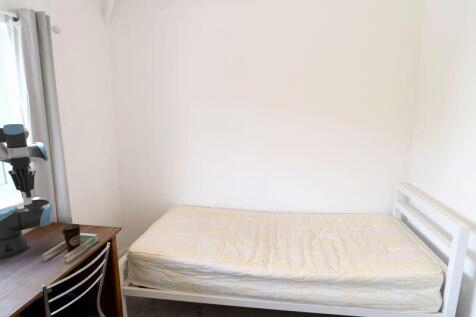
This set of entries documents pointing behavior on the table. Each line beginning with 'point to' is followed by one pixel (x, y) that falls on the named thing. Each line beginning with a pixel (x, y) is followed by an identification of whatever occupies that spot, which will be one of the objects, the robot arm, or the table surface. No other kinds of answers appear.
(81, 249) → the rail outer
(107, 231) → the table surface
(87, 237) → the backstop
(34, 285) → the table surface
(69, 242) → the coffee cup
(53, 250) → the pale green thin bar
